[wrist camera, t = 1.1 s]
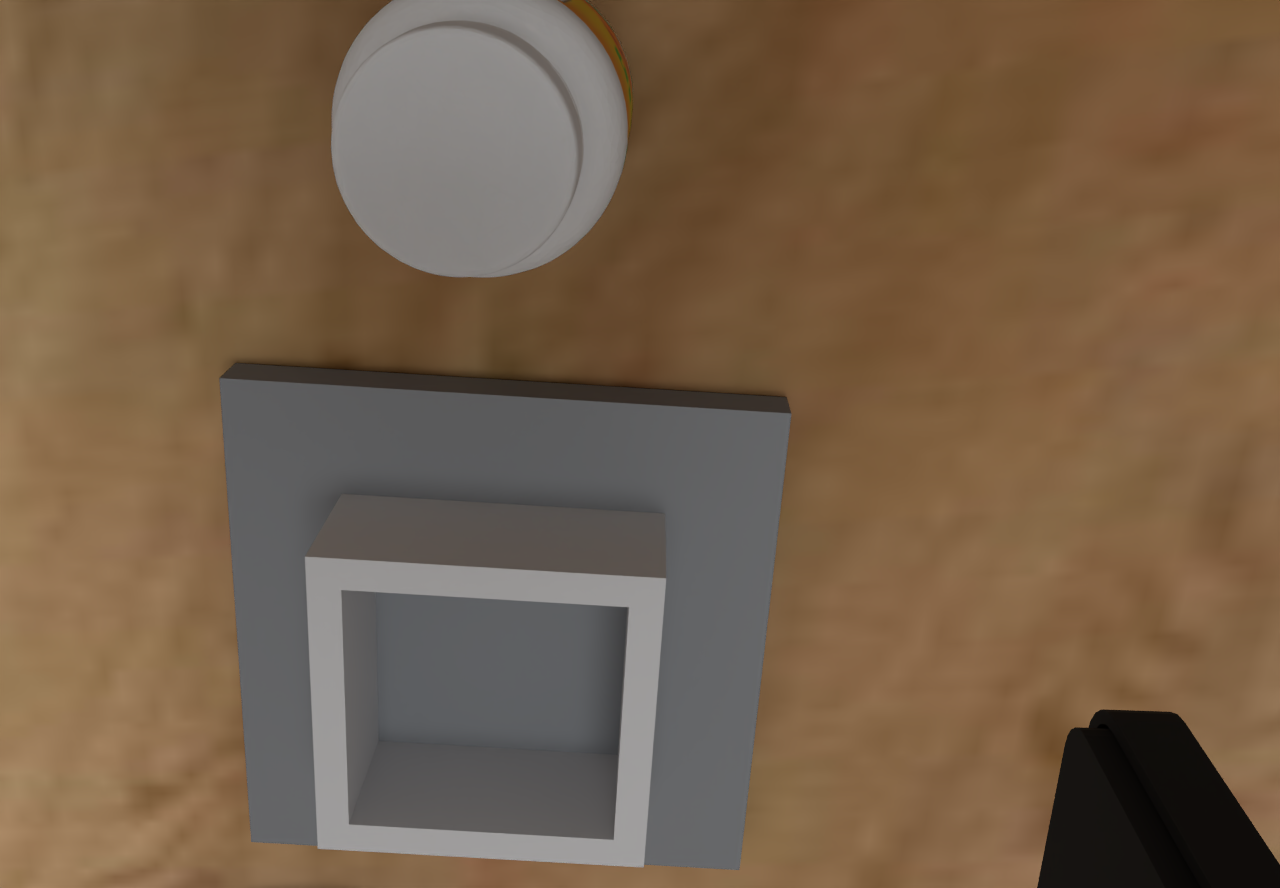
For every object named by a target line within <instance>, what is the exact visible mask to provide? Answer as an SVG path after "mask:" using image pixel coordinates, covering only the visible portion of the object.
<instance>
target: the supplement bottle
mask: <svg viewBox="0 0 1280 888" xmlns="http://www.w3.org/2000/svg"><path fill="white" fill-rule="evenodd" d="M632 110H633V85H632V78H631V73H630V69H629V65H628V62H627V58H626V55H625V53H624V50H623V48H622V46H621V43H620V41H619V40H618V38H617V36H616V34H615V32H614V31H613V29H612V28H611V26H610V25H609V23H608V22H607V21H606V19H605V18H604V17H603V16H602V15H601V13H600V12H599V11H598V10H597V9H596V8H595V7H594V6H592V5H591V4H590V3H589V2H588V1H587V0H392V1H391V2H390V3H389V4H387V5H386V6H385V7H383V8H382V9H381V10H380V11H379V12H378V13H377V14H376V15H375V16H374V17H373V18H372V19H370V21H369V22H368V23H367V24H366V25H365V26H364V28H363V29H362V30H361V32H360V33H359V34H358V36H357V37H356V39H355V40H354V42H353V43H352V45H351V47H350V49H349V51H348V52H347V54H346V57H345V59H344V61H343V64H342V67H341V69H340V72H339V76H338V79H337V83H336V86H335V91H334V96H333V105H332V136H331V152H332V163H333V169H334V174H335V178H336V182H337V186H338V188H339V190H340V193H341V195H342V197H343V200H344V202H345V204H346V206H347V208H348V210H349V212H350V213H351V215H352V216H353V218H354V219H355V221H356V222H357V224H358V225H359V226H360V228H361V229H362V230H363V231H364V232H365V234H366V235H367V236H368V237H369V238H370V239H371V240H372V241H373V242H374V243H375V244H377V245H378V246H379V247H380V248H381V249H383V250H384V251H386V252H387V253H388V254H390V255H391V256H393V257H394V258H396V259H397V260H399V261H401V262H403V263H405V264H407V265H409V266H411V267H413V268H416V269H419V270H421V271H425V272H428V273H431V274H436V275H440V276H448V277H500V276H507V275H512V274H516V273H520V272H524V271H527V270H531V269H534V268H537V267H539V266H541V265H544V264H546V263H548V262H550V261H552V260H554V259H555V258H557V257H559V256H560V255H562V254H563V253H565V252H566V251H568V250H569V249H570V248H571V247H573V246H574V245H575V244H576V243H578V242H579V241H580V240H581V239H582V238H583V237H584V236H585V235H586V234H587V233H588V232H589V231H590V230H591V228H592V227H593V226H594V225H595V224H596V222H597V221H598V220H599V218H600V217H601V215H602V214H603V212H604V211H605V209H606V207H607V206H608V204H609V202H610V200H611V198H612V196H613V194H614V192H615V189H616V187H617V184H618V182H619V179H620V176H621V173H622V170H623V166H624V162H625V158H626V152H627V145H628V139H629V134H630V127H631V119H632Z"/></svg>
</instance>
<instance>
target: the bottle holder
mask: <svg viewBox="0 0 1280 888" xmlns="http://www.w3.org/2000/svg"><path fill="white" fill-rule="evenodd" d="M219 379H220V393H221V408H222V422H223V437H224V451H225V466H226V480H227V495H228V510H229V524H230V539H231V553H232V568H233V582H234V597H235V611H236V626H237V640H238V655H239V669H240V684H241V699H242V713H243V728H244V742H245V757H246V771H247V786H248V800H249V815H250V829H251V842H263V843H280V844H297V845H315V846H318V849H333V850H351V851H368V852H385V853H403V854H420V855H437V856H455V857H472V858H489V859H507V860H524V861H541V862H559V863H576V864H594V865H611V866H628V867H644V865H661V866H679V867H696V868H713V869H731V870H739V868H740V859H741V851H742V842H743V833H744V824H745V816H746V807H747V798H748V789H749V780H750V772H751V763H752V754H753V745H754V737H755V728H756V719H757V710H758V701H759V693H760V684H761V675H762V666H763V658H764V649H765V640H766V631H767V622H768V614H769V605H770V596H771V587H772V579H773V570H774V561H775V552H776V543H777V535H778V526H779V517H780V508H781V500H782V491H783V482H784V473H785V464H786V456H787V447H788V438H789V429H790V421H791V411H790V408H789V404H788V401H787V397H774V396H757V395H741V394H725V393H709V392H693V391H677V390H661V389H645V388H629V387H612V386H596V385H580V384H564V383H548V382H532V381H516V380H500V379H484V378H467V377H451V376H435V375H419V374H403V373H387V372H371V371H355V370H339V369H322V368H306V367H290V366H274V365H258V364H242V363H235V364H234V365H233V366H232V367H231V368H230V369H228V370H227V371H226V372H225V373H224V374H223V375H222V376H221V377H220V378H219Z"/></svg>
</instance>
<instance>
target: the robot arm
mask: <svg viewBox="0 0 1280 888" xmlns="http://www.w3.org/2000/svg"><path fill="white" fill-rule="evenodd" d="M1037 888H1280V864H1279V863H1278V861H1277V860H1276V858H1275V857H1274V855H1273V854H1272V852H1271V851H1270V849H1269V848H1268V846H1267V845H1266V843H1265V842H1264V840H1263V839H1262V837H1261V836H1260V834H1259V833H1258V831H1257V830H1256V828H1255V827H1254V825H1253V824H1252V822H1251V821H1250V819H1249V818H1248V816H1247V815H1246V813H1245V812H1244V810H1243V809H1242V807H1241V806H1240V804H1239V803H1238V801H1237V800H1236V798H1235V797H1234V795H1233V794H1232V792H1231V791H1230V789H1229V788H1228V786H1227V785H1226V783H1225V782H1224V780H1223V779H1222V777H1221V776H1220V774H1219V773H1218V771H1217V770H1216V768H1215V767H1214V765H1213V764H1212V762H1211V761H1210V759H1209V758H1208V756H1207V755H1206V753H1205V752H1204V750H1203V749H1202V747H1201V746H1200V744H1199V743H1198V741H1197V740H1196V738H1195V737H1194V735H1193V734H1192V732H1191V731H1190V729H1189V728H1188V726H1187V725H1186V723H1185V722H1184V721H1183V720H1182V719H1181V718H1180V717H1179V716H1178V714H1175V713H1172V712H1157V711H1129V710H1100V711H1098V712H1096V713H1095V715H1094V716H1093V718H1092V719H1091V721H1090V725H1089V728H1076V727H1075V728H1074V729H1072V730H1071V731H1070V733H1069V734H1068V736H1067V740H1066V743H1065V747H1064V753H1063V758H1062V763H1061V768H1060V773H1059V778H1058V784H1057V789H1056V794H1055V799H1054V804H1053V809H1052V815H1051V820H1050V825H1049V830H1048V835H1047V840H1046V846H1045V851H1044V856H1043V861H1042V866H1041V871H1040V877H1039V882H1038V887H1037Z"/></svg>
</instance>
